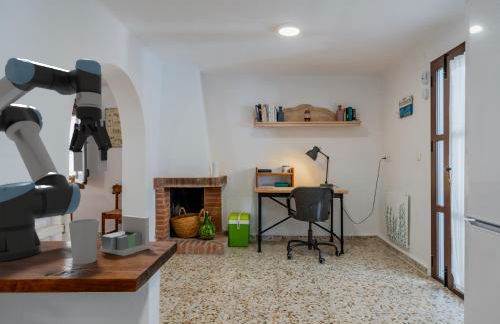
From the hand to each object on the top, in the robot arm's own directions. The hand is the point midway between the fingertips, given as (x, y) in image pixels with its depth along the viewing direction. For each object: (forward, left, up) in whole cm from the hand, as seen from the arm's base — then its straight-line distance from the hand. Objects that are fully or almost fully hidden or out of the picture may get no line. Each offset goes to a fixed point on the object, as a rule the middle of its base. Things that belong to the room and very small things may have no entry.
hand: (90, 171), depth 102 cm
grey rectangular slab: (+9, +4, -25) cm, 27 cm away
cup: (+8, -7, -27) cm, 29 cm away
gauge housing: (+8, +7, -27) cm, 29 cm away
